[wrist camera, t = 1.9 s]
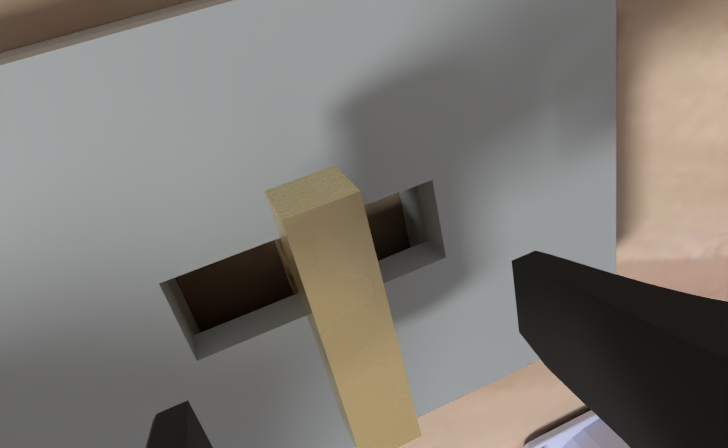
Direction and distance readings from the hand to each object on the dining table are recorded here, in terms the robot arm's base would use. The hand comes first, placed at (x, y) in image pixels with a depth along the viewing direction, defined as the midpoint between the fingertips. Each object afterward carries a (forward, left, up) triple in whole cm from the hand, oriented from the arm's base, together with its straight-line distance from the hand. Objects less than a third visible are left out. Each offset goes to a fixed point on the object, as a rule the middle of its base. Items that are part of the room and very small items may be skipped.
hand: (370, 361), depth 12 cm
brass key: (0, 0, -7) cm, 7 cm away
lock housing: (0, 0, -7) cm, 7 cm away
